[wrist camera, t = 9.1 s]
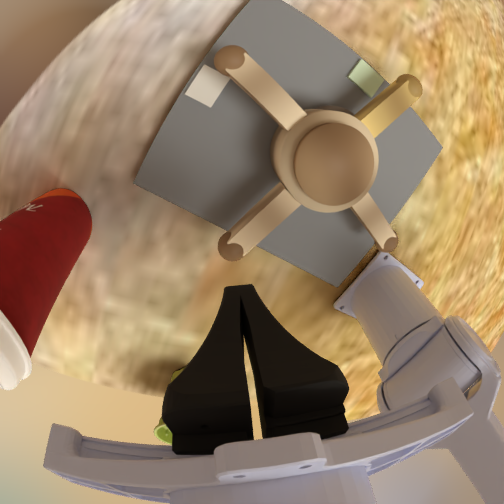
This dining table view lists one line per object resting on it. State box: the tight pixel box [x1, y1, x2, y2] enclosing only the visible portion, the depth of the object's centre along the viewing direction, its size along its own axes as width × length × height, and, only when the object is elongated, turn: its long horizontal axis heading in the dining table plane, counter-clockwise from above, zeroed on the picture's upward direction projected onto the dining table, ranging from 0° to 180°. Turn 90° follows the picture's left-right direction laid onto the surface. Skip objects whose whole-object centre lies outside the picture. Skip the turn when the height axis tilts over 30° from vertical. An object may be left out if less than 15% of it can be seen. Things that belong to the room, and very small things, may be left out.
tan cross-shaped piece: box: [214, 45, 422, 261], centre depth 17 cm, size 19×19×4 cm
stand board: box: [133, 0, 443, 288], centre depth 19 cm, size 20×17×2 cm
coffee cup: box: [0, 188, 92, 390], centre depth 13 cm, size 8×8×15 cm
